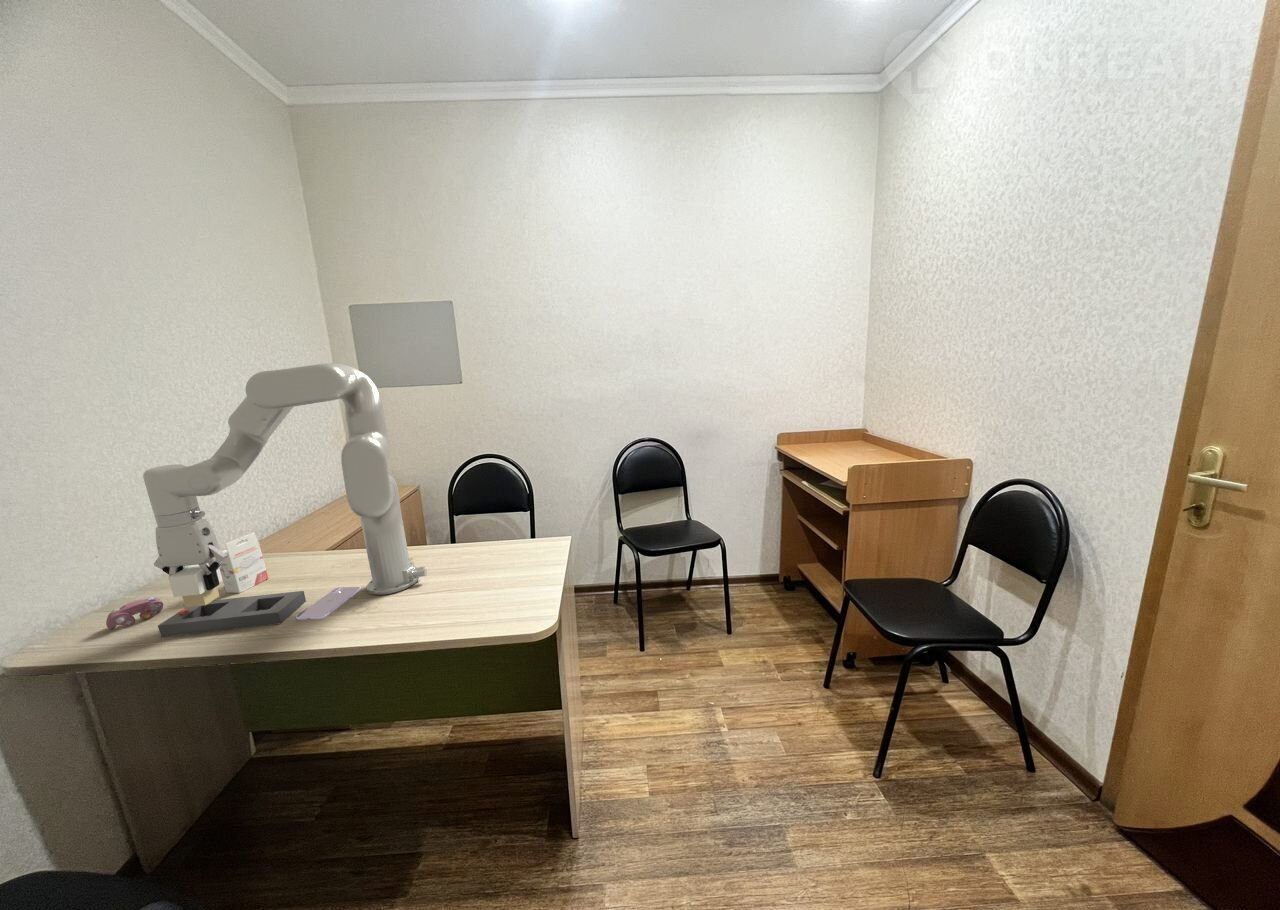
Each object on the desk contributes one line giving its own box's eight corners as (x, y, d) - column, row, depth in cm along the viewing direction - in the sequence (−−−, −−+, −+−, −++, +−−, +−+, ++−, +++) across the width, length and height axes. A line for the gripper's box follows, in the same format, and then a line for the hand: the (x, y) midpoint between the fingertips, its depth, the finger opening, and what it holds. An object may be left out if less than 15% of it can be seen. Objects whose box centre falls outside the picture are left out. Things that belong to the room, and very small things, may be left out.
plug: (226, 593, 117) (217, 561, 115) (204, 607, 110) (194, 574, 108) (201, 595, 116) (192, 564, 114) (177, 610, 109) (168, 577, 108)
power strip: (306, 601, 121) (303, 588, 121) (281, 623, 111) (277, 610, 111) (197, 613, 119) (193, 600, 118) (161, 637, 109) (156, 623, 108)
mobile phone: (292, 617, 113) (335, 586, 127) (293, 620, 113) (336, 589, 128) (322, 616, 112) (362, 585, 127) (323, 620, 112) (363, 589, 127)
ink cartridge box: (255, 578, 137) (243, 531, 134) (269, 578, 136) (257, 531, 133) (224, 593, 129) (210, 543, 126) (239, 593, 128) (225, 543, 125)
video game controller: (112, 638, 112) (107, 618, 109) (105, 626, 114) (100, 606, 111) (167, 618, 120) (165, 598, 117) (160, 607, 122) (157, 587, 119)
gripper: (231, 509, 113) (248, 578, 117) (152, 515, 111) (173, 585, 115) (206, 520, 106) (226, 593, 110) (122, 527, 104) (145, 601, 108)
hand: (198, 588), depth 112 cm, fingers closed on plug, 5 cm apart
